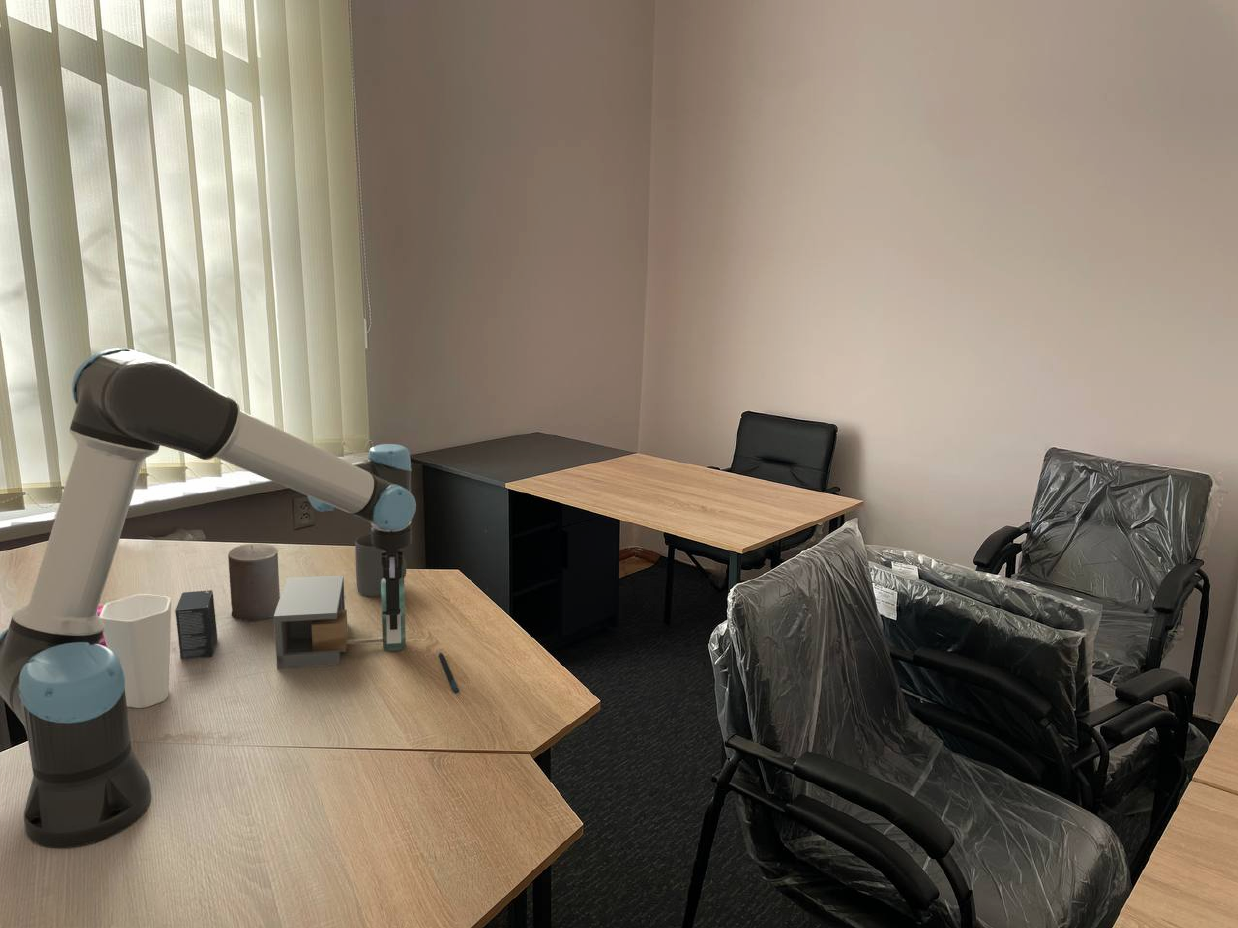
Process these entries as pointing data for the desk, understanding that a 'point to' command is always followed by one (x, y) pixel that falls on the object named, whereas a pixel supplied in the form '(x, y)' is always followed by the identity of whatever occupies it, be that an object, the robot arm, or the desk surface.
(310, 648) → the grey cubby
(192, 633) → the box
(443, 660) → the pen
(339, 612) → the tethered cylinder
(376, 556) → the mug
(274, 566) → the pillar candle
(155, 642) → the cup
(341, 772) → the desk surface
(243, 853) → the desk surface
